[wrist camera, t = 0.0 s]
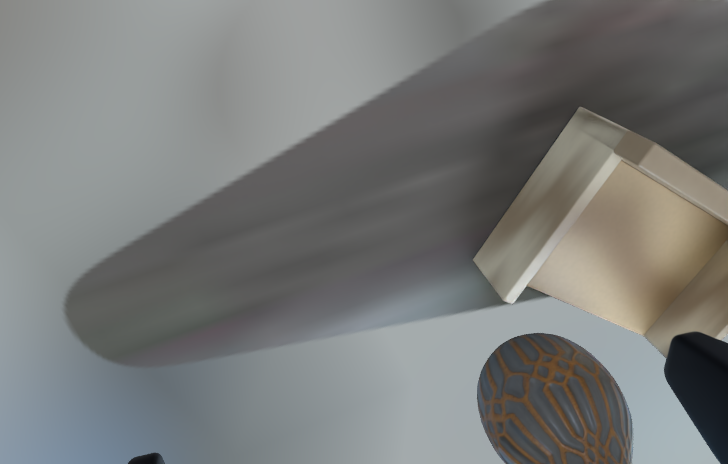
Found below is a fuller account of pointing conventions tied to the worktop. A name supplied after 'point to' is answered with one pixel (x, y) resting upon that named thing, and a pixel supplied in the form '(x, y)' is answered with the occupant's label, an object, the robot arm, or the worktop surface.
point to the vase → (552, 404)
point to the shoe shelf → (617, 234)
